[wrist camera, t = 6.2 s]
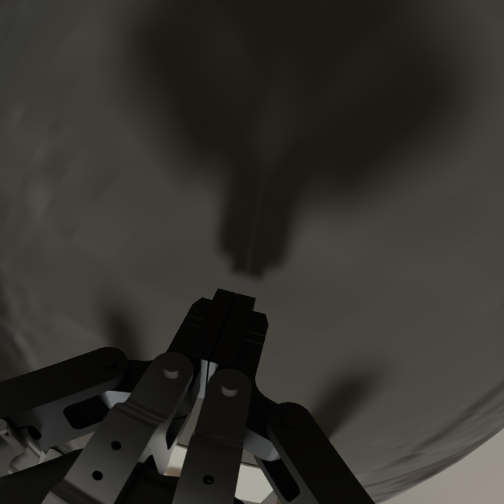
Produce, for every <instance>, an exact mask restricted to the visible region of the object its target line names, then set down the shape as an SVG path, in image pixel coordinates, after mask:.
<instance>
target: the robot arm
mask: <svg viewBox="0 0 504 504" xmlns="http://www.w3.org/2000/svg"><path fill="white" fill-rule="evenodd" d="M236 295H237V296H236ZM255 300H256V298H254V297H250V296H246V295H242V294H237V293H234V292H230V291H227V290H223V289H218V290H217V291H216V293H215V295H214V298H213V300H210V299H206V298H201V299H199V300H198V301H196V302H195V303H194V304H192V306H191V308H190V310H189V312H188V313H187V315H186V317H185V319H184V321H183V323H182V324H181V326H180V328H179V330H178V332H177V333H176V335H175V337H174V339H173V341H172V343H171V344H170V346H169V348H168V350H167V351H166V353H162V354H160V355H158V356H157V357H156V358H155V359H154V360H151V361H137V360H127V357H126V355H125V354H124V353H123V352H122V351H121V350H119V349H117V348H114V347H103V348H99V349H97V350H94V351H91V352H88V353H85V354H83V355H80V356H77V357H74V358H71V359H68V360H65V361H63V362H60V363H57V364H54V365H51V366H48V367H45V368H42V369H39V370H36V371H33V372H30V373H27V374H24V375H21V376H18V377H15V378H12V379H9V380H5V381H2V382H0V504H244V503H243V502H242V501H241V500H239V499H238V498H236V497H235V492H236V487H237V481H238V476H239V470H240V465H241V459H242V453H243V449H245V450H247V451H249V452H250V453H252V454H254V458H255V460H256V461H257V463H258V465H259V467H260V468H261V470H262V472H263V473H264V475H265V477H266V479H267V480H268V482H269V484H270V485H271V487H272V489H273V490H274V492H275V494H276V495H277V497H278V498H279V500H280V502H281V503H282V504H375V503H374V502H373V500H372V499H371V498H370V496H369V495H368V494H367V492H366V491H365V490H364V488H363V487H362V486H361V484H360V483H359V481H358V480H357V479H356V477H355V476H354V475H353V473H352V472H351V471H350V469H349V468H348V466H347V465H346V464H345V462H344V461H343V460H342V458H341V457H340V455H339V454H338V453H337V451H336V450H335V448H334V447H333V446H332V444H331V443H330V441H329V440H328V439H327V437H326V436H325V434H324V433H323V431H322V430H321V429H320V427H319V426H318V424H317V423H316V421H315V420H314V419H313V417H312V416H311V414H310V413H309V412H308V410H307V409H306V408H304V407H303V406H301V405H299V404H296V403H292V402H285V403H280V404H277V403H275V402H273V401H272V400H270V399H268V398H267V397H265V396H264V395H263V394H262V393H261V392H260V391H259V390H258V388H257V386H256V382H255V376H256V372H257V368H258V364H259V360H260V356H261V352H262V348H263V344H264V341H265V337H266V333H267V329H268V321H267V318H266V314H263V313H259V312H255V311H253V309H254V305H255ZM197 397H200V398H203V403H202V406H201V410H200V413H199V417H198V420H197V424H196V427H195V431H194V433H192V435H191V438H190V441H189V445H188V448H187V452H186V455H185V459H184V462H183V466H182V469H181V473H180V477H176V476H167V475H164V473H165V471H166V469H167V467H168V464H169V460H170V456H171V453H172V451H173V449H174V447H175V445H176V443H177V441H178V439H179V437H180V435H181V434H182V432H183V430H184V428H185V426H186V424H187V422H188V420H189V418H190V416H191V413H192V409H193V407H194V404H195V402H196V399H197ZM94 431H95V433H94V434H93V436H92V437H91V439H90V440H89V442H88V443H87V445H86V446H85V448H84V449H78V450H74V451H71V452H69V453H66V454H64V455H61V456H59V457H56V458H54V459H51V460H48V461H46V462H43V463H40V464H38V463H39V461H40V456H41V450H44V449H47V448H50V447H53V446H56V445H59V444H62V443H65V442H67V441H70V440H73V439H76V438H78V437H81V436H84V435H86V434H89V433H92V432H94ZM36 464H38V465H36ZM33 465H35V466H33ZM31 466H32V467H31Z"/></svg>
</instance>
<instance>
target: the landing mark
mask: <svg viewBox="0 0 504 504" xmlns="http://www.w3.org/2000/svg"><path fill="white" fill-rule="evenodd" d="M186 452H187V447H184V446H181V445H178V444H176V445H175V447H174V449H173V451H172V453H171V456H170V460H169V464H168V467H167V469H166V471H165V473H164V475H167V476H176V477H180V473H181V469H182V466H183V462H184V459H185V455H186ZM272 491H273V489H272V487H271V485H270V484H269V482H268V480H267V479H266V477H265V475H264V473H263V472H262V470H261V468H260V467H258V466H253V465H249V464H245V463H241V465H240V470H239V476H238V481H237V487H236V492H235V497H236V498H238V499H242V500H247V501H252V502H257V503H261V502H262V501H263V500H264V499H265V498H266V497H267V496H268V495H269V494H270V493H271V492H272Z"/></svg>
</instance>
